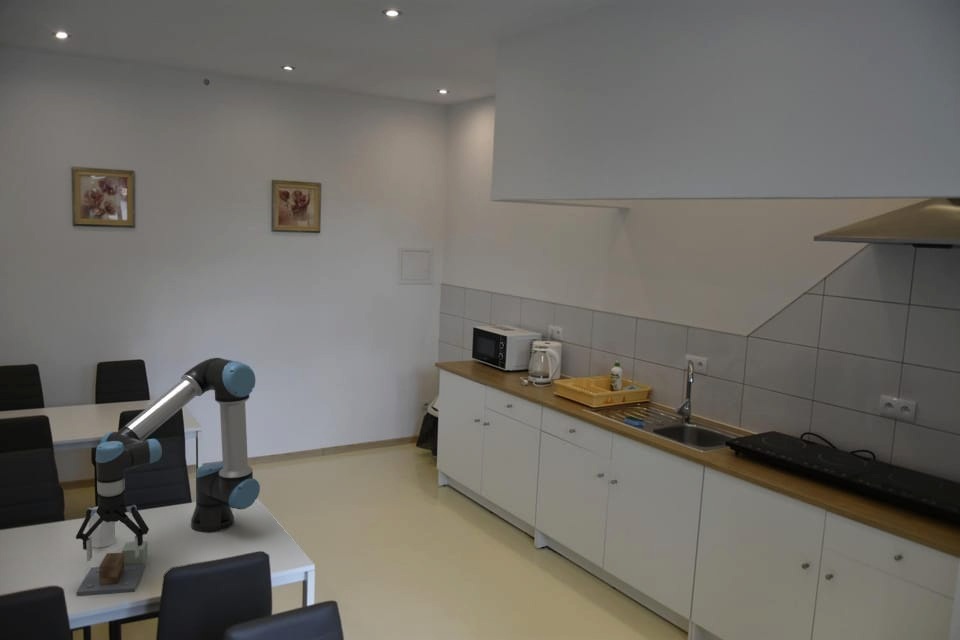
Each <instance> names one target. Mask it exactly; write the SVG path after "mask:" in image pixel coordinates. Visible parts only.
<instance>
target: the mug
mask: <svg viewBox="0 0 960 640" xmlns="http://www.w3.org/2000/svg"><path fill="white" fill-rule="evenodd" d="M93 508H98V506H95V507H93ZM99 518H100V516H99V515H98V514H97V513H95V514H94V515H93V516H91V518H90V520H89V522H88V530H89V529H90V528H91V527H92V526H93V525H94V524H95V522H96V521H97V520H98V519H99ZM89 537H92V549H93V548H97V549H98V548H99V549H102V548H107V547H110V546H112V545H115V543H116V541H117V538H116V522H112V521H111V522H105V521H104V520H103V522H102V523H101V524H100V525H99V526H98V527H97V528H96V529H95V530H94V532H93V533H92V534H91V535H90V536H89ZM89 537H88V538H89ZM106 546H107V547H106ZM101 547H102V548H101Z"/></svg>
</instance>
